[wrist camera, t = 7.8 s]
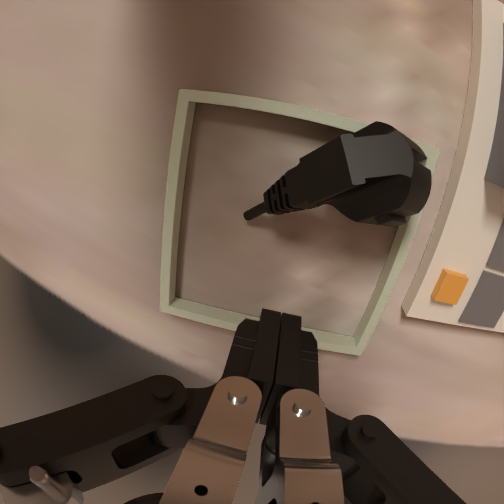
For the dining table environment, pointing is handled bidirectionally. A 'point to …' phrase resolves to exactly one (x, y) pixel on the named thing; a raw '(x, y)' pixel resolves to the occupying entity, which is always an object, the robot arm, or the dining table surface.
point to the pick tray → (174, 208)
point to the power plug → (356, 179)
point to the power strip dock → (471, 199)
